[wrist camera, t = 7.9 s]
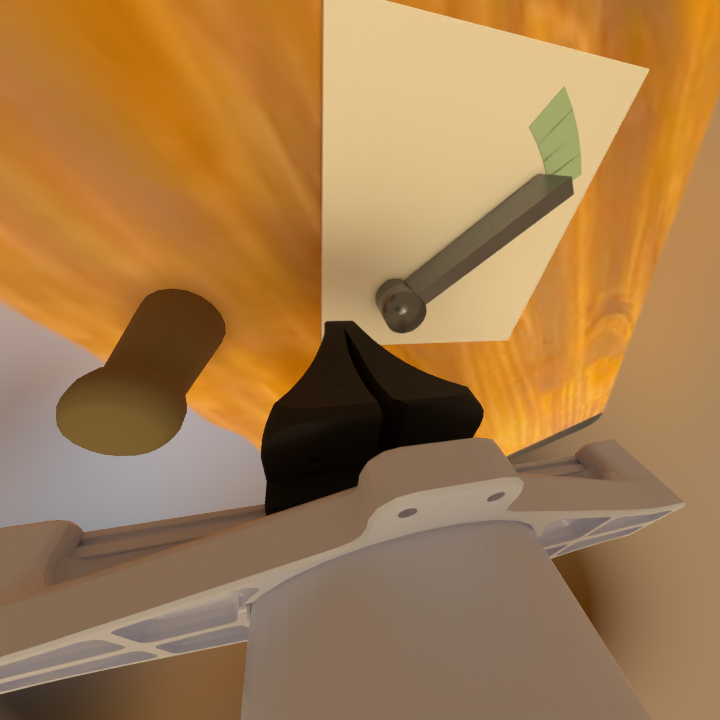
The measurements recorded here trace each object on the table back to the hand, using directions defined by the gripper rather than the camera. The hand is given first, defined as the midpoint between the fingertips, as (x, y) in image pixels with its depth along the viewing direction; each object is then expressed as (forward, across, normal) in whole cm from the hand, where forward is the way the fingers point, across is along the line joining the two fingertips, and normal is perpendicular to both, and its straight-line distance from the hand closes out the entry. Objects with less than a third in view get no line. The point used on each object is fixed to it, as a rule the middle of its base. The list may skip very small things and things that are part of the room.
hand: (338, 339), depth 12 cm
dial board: (+10, -10, -3) cm, 15 cm away
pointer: (+9, -10, -2) cm, 14 cm away
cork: (+11, +11, +5) cm, 16 cm away
